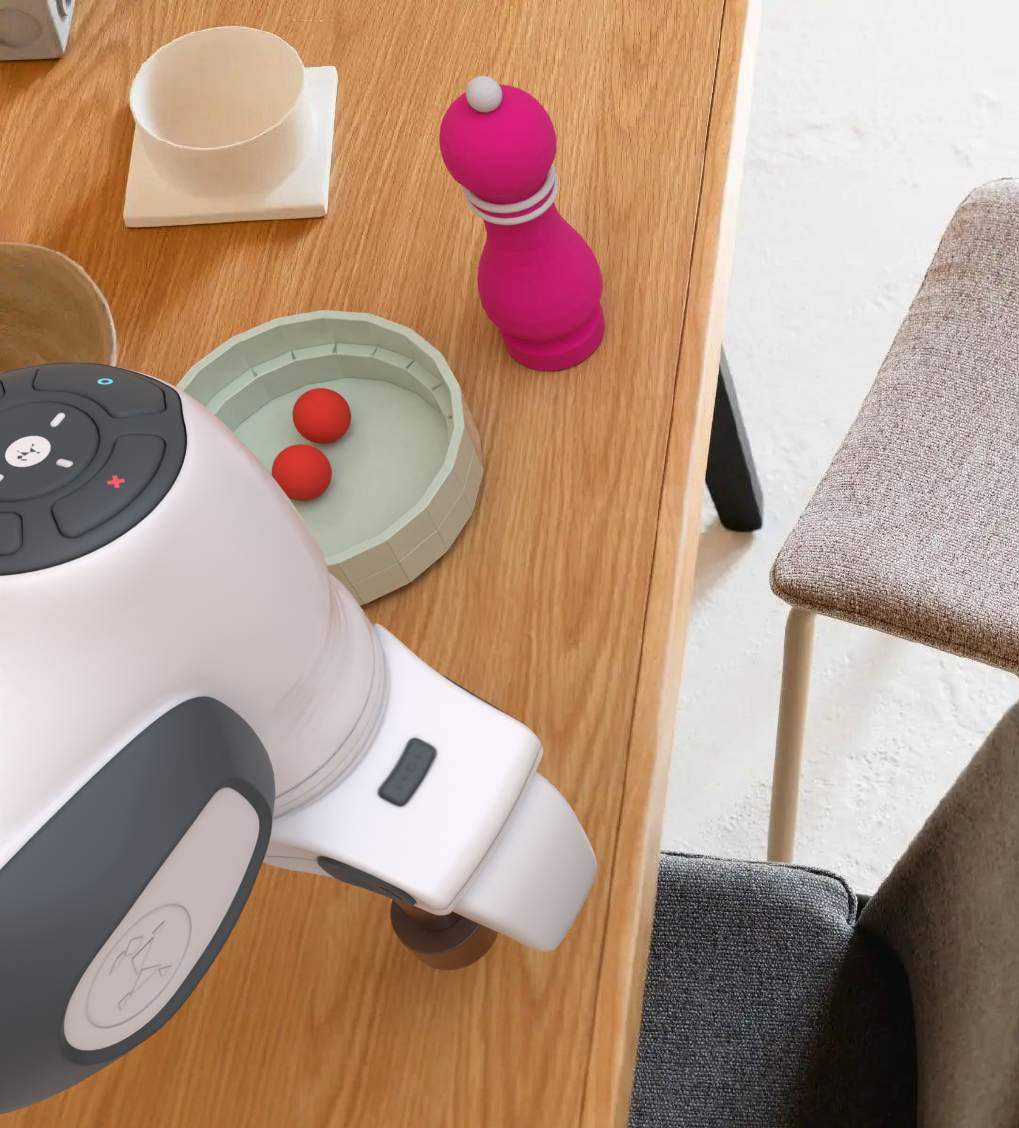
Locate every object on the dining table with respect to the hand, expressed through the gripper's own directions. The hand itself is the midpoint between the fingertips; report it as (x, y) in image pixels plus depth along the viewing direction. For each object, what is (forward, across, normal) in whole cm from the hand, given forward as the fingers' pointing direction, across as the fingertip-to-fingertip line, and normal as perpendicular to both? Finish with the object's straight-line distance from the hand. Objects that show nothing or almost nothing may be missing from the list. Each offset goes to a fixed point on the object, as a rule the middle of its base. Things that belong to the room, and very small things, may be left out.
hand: (386, 852), depth 61 cm
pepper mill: (+15, -15, +35) cm, 41 cm away
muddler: (+11, 0, 0) cm, 11 cm away
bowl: (+15, -21, +20) cm, 32 cm away
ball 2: (+12, -22, +19) cm, 31 cm away
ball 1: (+12, -23, +23) cm, 35 cm away
